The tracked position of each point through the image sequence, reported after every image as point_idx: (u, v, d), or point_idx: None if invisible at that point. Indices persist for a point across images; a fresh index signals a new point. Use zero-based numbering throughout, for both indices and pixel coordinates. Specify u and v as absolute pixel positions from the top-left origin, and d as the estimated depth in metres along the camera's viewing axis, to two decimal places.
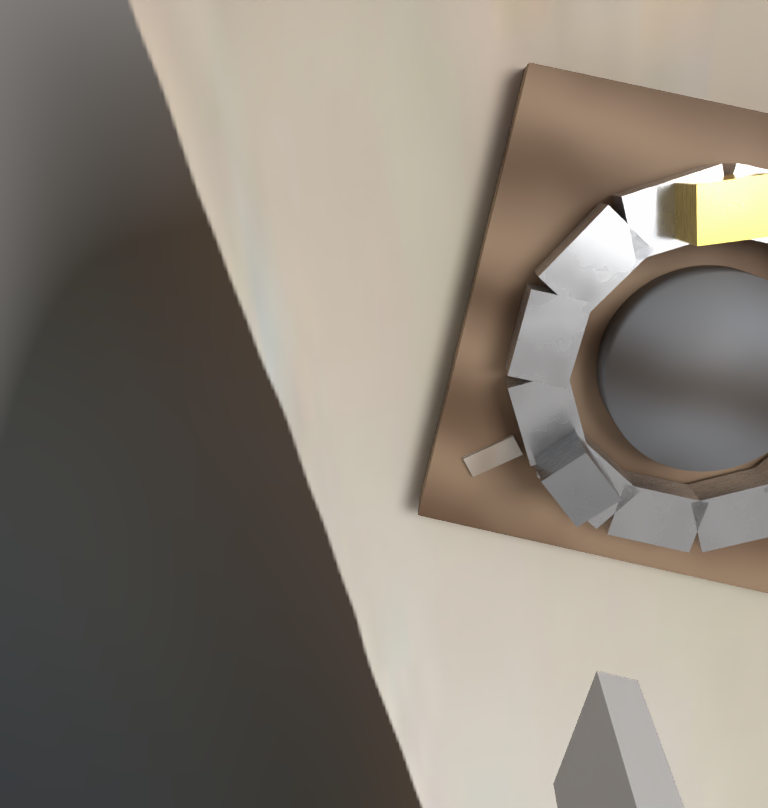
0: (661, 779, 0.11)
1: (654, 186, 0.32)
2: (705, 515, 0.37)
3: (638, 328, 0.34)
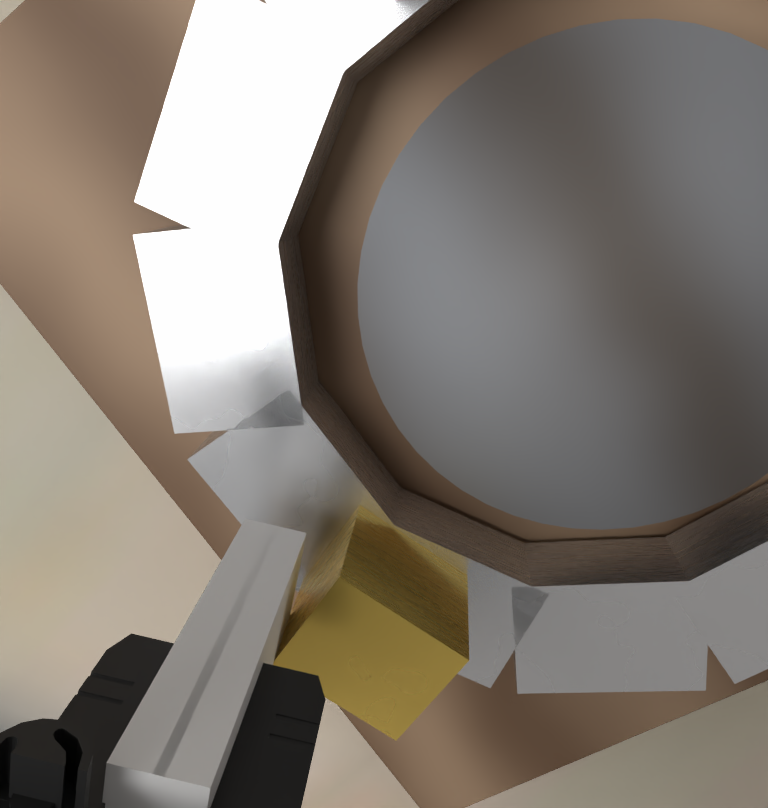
0: (272, 590, 0.13)
1: None
2: None
3: (639, 500, 0.15)
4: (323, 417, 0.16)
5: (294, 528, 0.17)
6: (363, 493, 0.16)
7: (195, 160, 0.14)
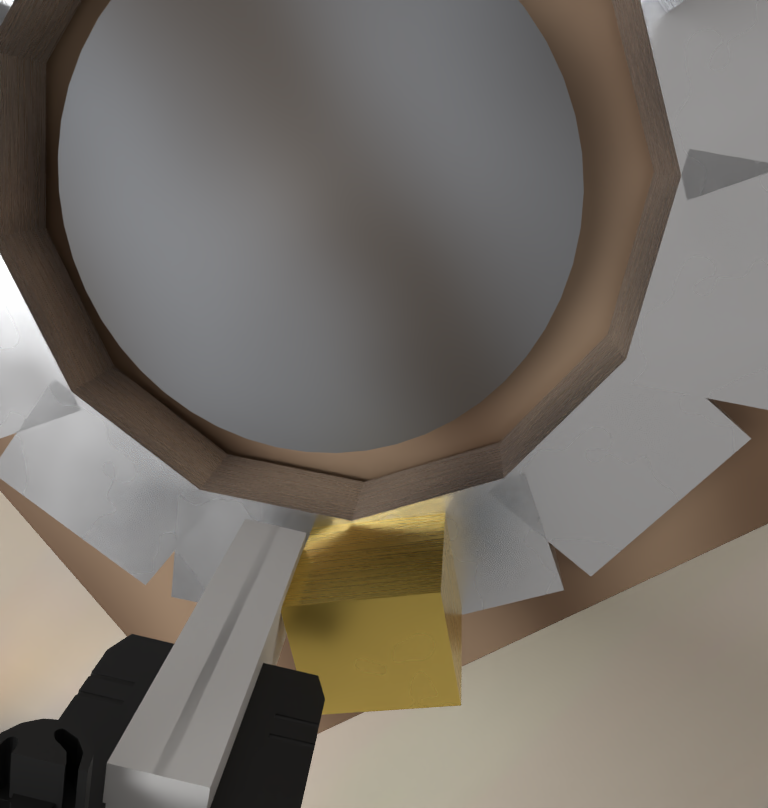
0: (272, 590, 0.13)
1: (499, 602, 0.16)
2: None
3: (369, 422, 0.15)
4: (234, 482, 0.17)
5: None
6: (305, 517, 0.16)
7: None
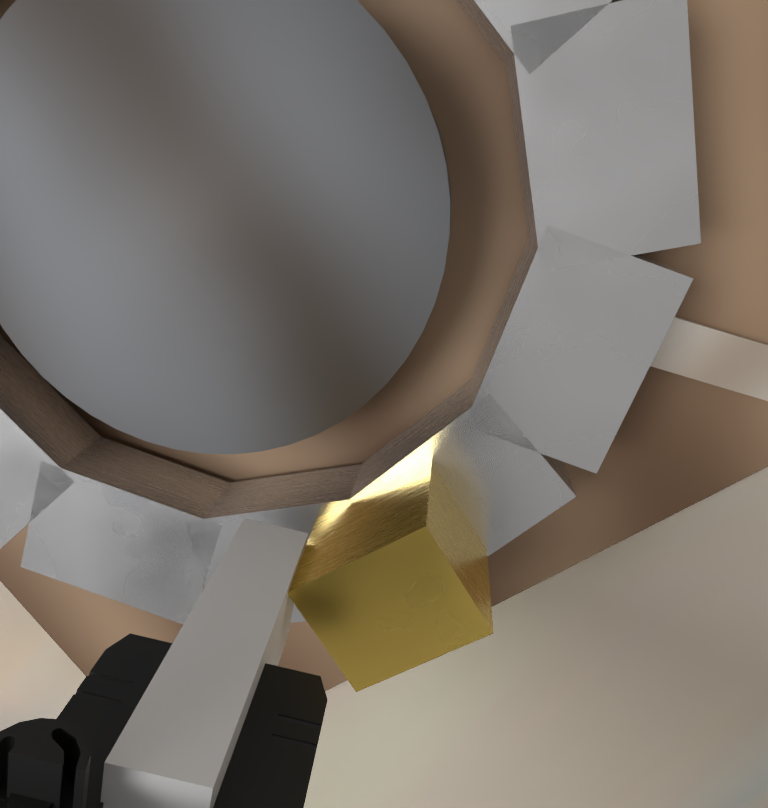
0: (274, 590, 0.13)
1: (519, 531, 0.16)
2: None
3: (261, 423, 0.15)
4: (236, 503, 0.17)
5: None
6: (307, 510, 0.16)
7: None
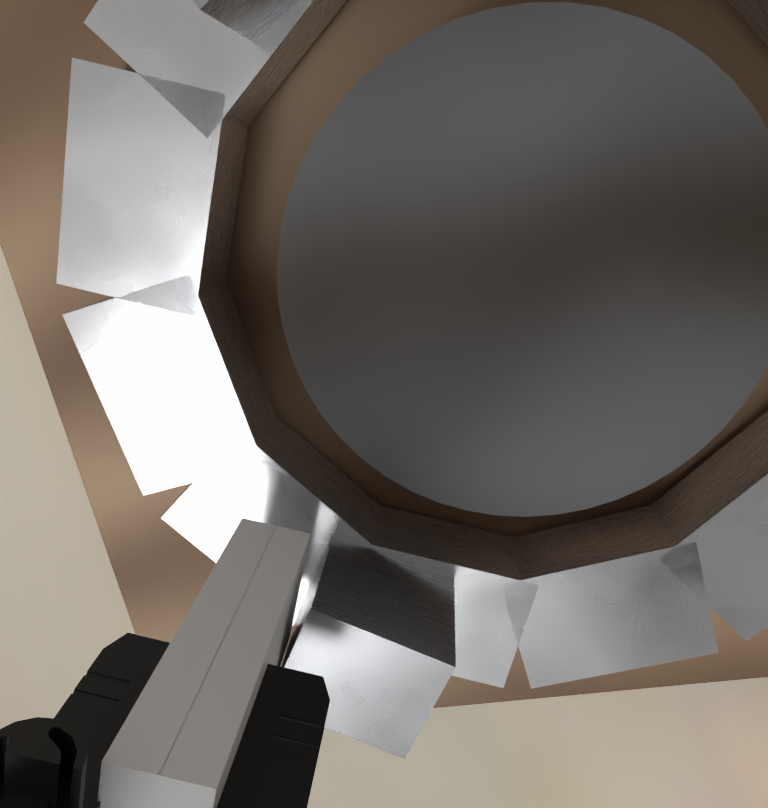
0: (276, 591, 0.13)
1: None
2: (160, 311, 0.15)
3: (750, 327, 0.14)
4: None
5: None
6: None
7: (654, 632, 0.17)
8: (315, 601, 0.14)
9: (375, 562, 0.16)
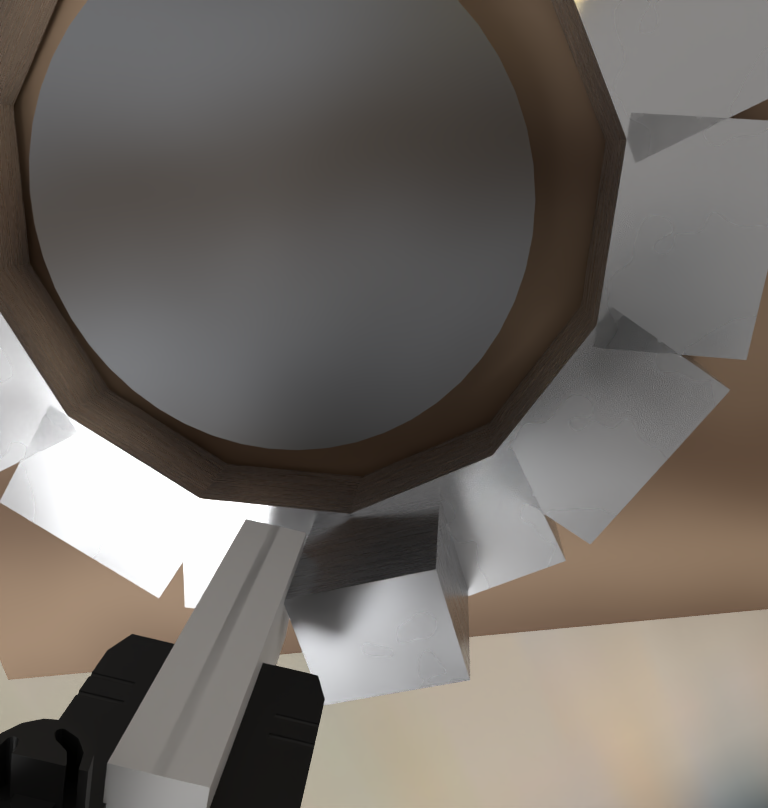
0: (272, 590, 0.13)
1: None
2: (54, 448, 0.16)
3: (496, 253, 0.14)
4: (608, 109, 0.14)
5: None
6: (582, 1, 0.12)
7: (652, 414, 0.15)
8: (287, 592, 0.14)
9: (354, 526, 0.16)
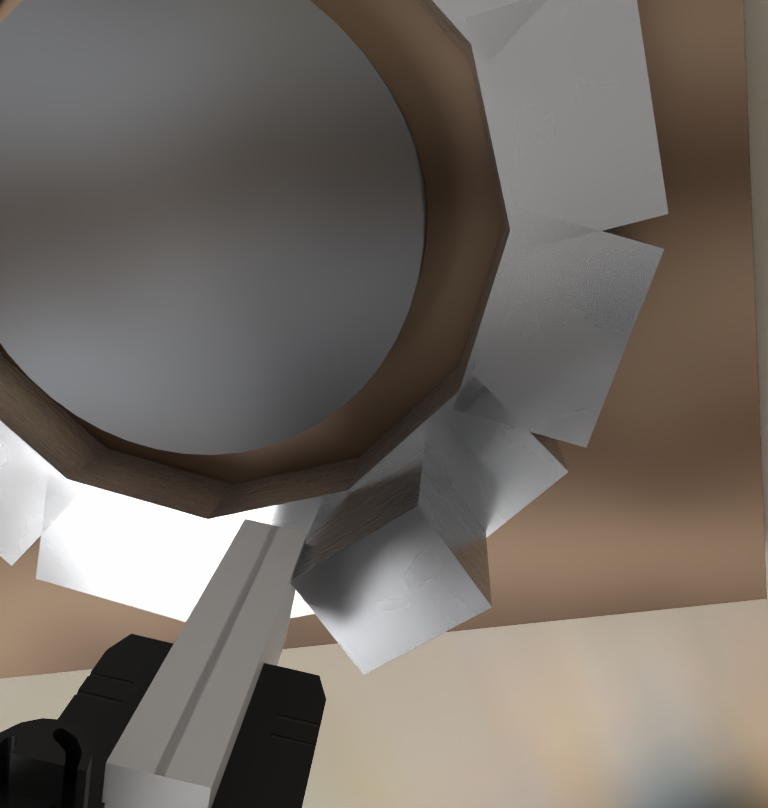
0: (273, 590, 0.13)
1: None
2: (65, 512, 0.17)
3: (389, 265, 0.15)
4: (448, 25, 0.14)
5: None
6: None
7: (597, 298, 0.15)
8: None
9: (351, 499, 0.16)
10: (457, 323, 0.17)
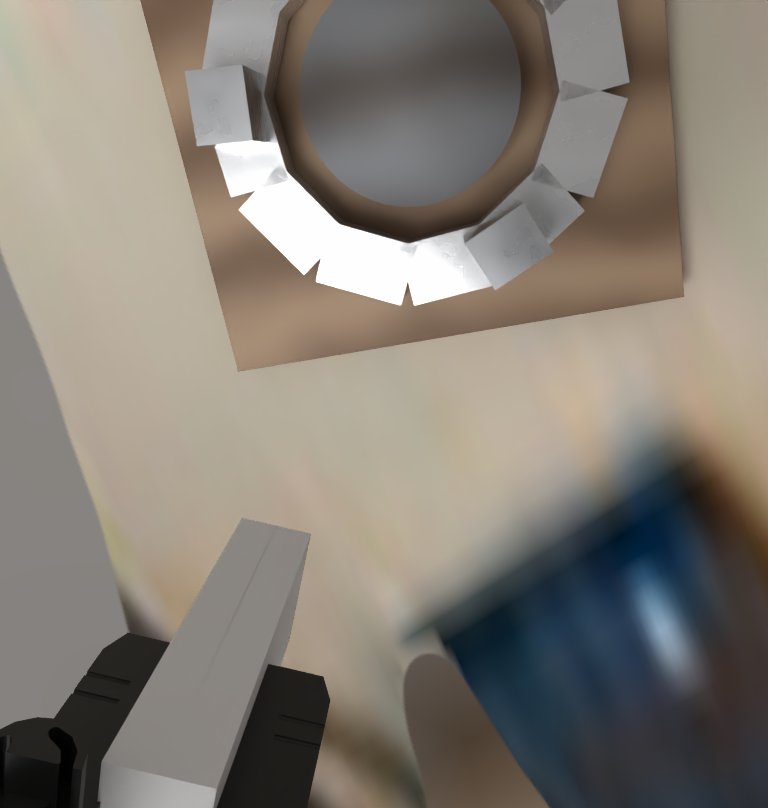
0: (277, 591, 0.13)
1: None
2: (335, 243, 0.35)
3: (504, 108, 0.32)
4: None
5: None
6: None
7: (598, 123, 0.32)
8: (465, 242, 0.32)
9: (482, 224, 0.34)
10: (528, 148, 0.35)
